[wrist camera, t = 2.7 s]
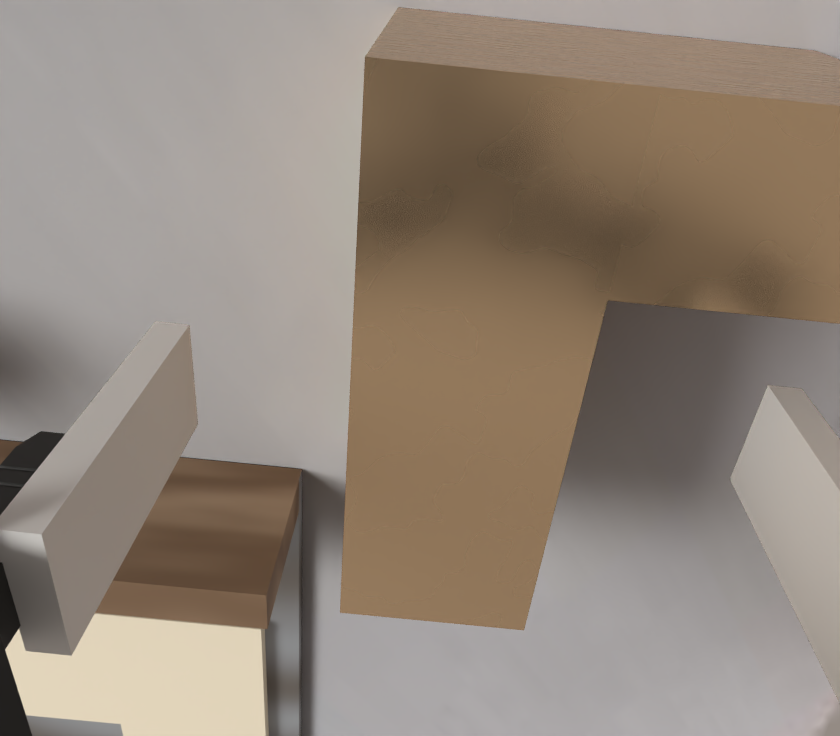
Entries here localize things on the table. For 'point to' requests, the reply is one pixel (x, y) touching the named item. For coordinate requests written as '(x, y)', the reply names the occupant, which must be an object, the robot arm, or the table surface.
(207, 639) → the pad
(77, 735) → the arena
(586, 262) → the wooden l-shaped block
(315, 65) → the table surface
